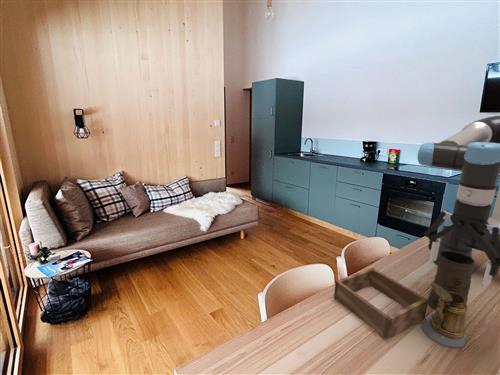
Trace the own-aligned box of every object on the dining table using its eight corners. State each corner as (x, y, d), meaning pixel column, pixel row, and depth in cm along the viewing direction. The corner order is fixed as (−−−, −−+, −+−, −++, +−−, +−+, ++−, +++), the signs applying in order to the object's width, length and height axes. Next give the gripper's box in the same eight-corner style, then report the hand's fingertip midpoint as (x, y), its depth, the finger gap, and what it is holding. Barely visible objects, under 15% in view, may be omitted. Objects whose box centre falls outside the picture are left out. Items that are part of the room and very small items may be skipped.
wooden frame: (370, 283, 107) (372, 267, 106) (424, 318, 89) (428, 299, 87) (333, 297, 99) (335, 281, 97) (386, 339, 80) (389, 320, 79)
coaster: (434, 315, 90) (434, 313, 90) (472, 339, 81) (473, 337, 81) (413, 327, 85) (414, 325, 85) (452, 353, 76) (453, 351, 76)
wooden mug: (412, 324, 85) (422, 274, 80) (442, 314, 90) (453, 266, 85) (440, 347, 77) (452, 292, 72) (471, 334, 81) (486, 282, 77)
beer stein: (473, 322, 87) (485, 265, 83) (436, 317, 89) (446, 261, 86) (449, 294, 102) (458, 245, 98) (417, 291, 104) (425, 242, 100)
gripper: (418, 191, 81) (407, 255, 87) (530, 220, 59) (506, 301, 65) (432, 188, 84) (421, 249, 90) (544, 214, 63) (520, 292, 69)
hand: (457, 271), depth 78 cm, fingers open, 13 cm apart
